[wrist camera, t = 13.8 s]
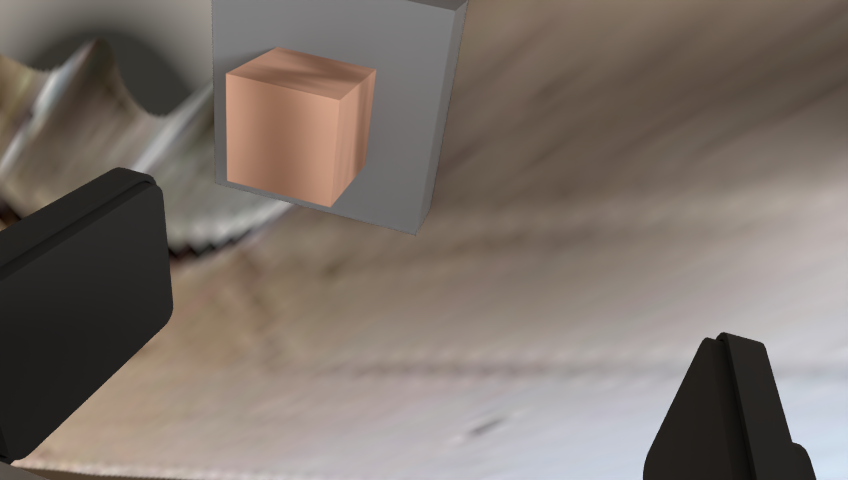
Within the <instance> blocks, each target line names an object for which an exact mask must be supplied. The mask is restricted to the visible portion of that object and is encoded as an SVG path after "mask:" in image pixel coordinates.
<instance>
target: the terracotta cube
mask: <svg viewBox="0 0 848 480" xmlns="http://www.w3.org/2000/svg"><path fill="white" fill-rule="evenodd" d="M375 76H376V69H373V68H368V67H364V66H359V65H355V64H351V63H346V62H342V61H337V60H333V59H328V58H324V57H320V56H315V55H311V54H306V53H302V52H298V51H293V50H289V49H284V48H280V47H276V48H275V49H273V50H271V51H269V52H267V53H265V54H263V55H261V56H259V57H257V58H255V59H253V60H251V61H249V62H247V63H245V64H243V65H242V66H240V67H238V68H236V69H234V70H232V71H230V72H228V73H226V126H227V181H230V182H234V183H238V184H242V185H246V186H249V187H253V188H257V189H261V190H265V191H269V192H273V193H277V194H280V195H284V196H288V197H292V198H296V199H300V200H304V201H308V202H312V203H315V204H319V205H323V206H327V207H331V206H332V205H333V204H334V202H335V201H336V200H337V199H338V198H339V196H340V195H341V194H342V193H343V191H344V190H345V189H346V188H347V187H348V185H349V184H350V183H351V182H352V180H353V179H354V178H355V177H356V176H357V174H358V173H359V172H360V171H361V169H362V168H363V167H364V166H365V163H366V154H367V145H368V137H369V128H370V119H371V111H372V102H373V93H374V84H375Z"/></svg>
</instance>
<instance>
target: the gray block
mask: <svg viewBox="0 0 848 480" xmlns="http://www.w3.org/2000/svg"><path fill="white" fill-rule="evenodd" d="M467 4H468V0H212V35H213V36H212V37H213V86H214V135H215V183H216V184H220V185H224V186H228V187H232V188H235V189H239V190H243V191H247V192H251V193H255V194H259V195H262V196H266V197H270V198H274V199H278V200H282V201H285V202H289V203H293V204H297V205H301V206H305V207H308V208H312V209H316V210H320V211H324V212H328V213H332V214H335V215H339V216H343V217H347V218H351V219H355V220H358V221H362V222H366V223H370V224H374V225H378V226H381V227H385V228H389V229H393V230H397V231H401V232H405V233H408V234H412V235H417V233H418V231H419V229H420V227H421V225H422V223H423V221H424V219H425V217H426V216H427V214H428V212H429V210H430V207H431V201H432V196H433V190H434V185H435V179H436V174H437V168H438V163H439V157H440V152H441V147H442V141H443V136H444V130H445V125H446V119H447V114H448V108H449V103H450V97H451V92H452V86H453V81H454V75H455V70H456V65H457V59H458V54H459V48H460V43H461V37H462V32H463V26H464V21H465V15H466V10H467ZM276 47H280V48H284V49H289V50H293V51H298V52H302V53H306V54H311V55H315V56H320V57H324V58H328V59H333V60H337V61H342V62H346V63H351V64H355V65H359V66H364V67H368V68H373V69H376V76H375V84H374V93H373V102H372V111H371V119H370V128H369V137H368V145H367V154H366V163H365V166H364V167H363V168H362V169H361V171H360V172H359V173H358V174H357V176H356V177H355V178H354V179H353V180H352V182H351V183H350V184H349V185H348V187H347V188H346V189H345V190H344V191H343V193H342V194H341V195H340V196H339V198H338V199H337V200H336V201H335V202H334V204H333V205H332V206H331V207H327V206H323V205H319V204H315V203H312V202H308V201H304V200H300V199H296V198H292V197H288V196H284V195H280V194H277V193H273V192H269V191H265V190H261V189H257V188H253V187H249V186H246V185H242V184H238V183H234V182H230V181H227V126H226V73H228V72H230V71H232V70H234V69H236V68H238V67H240V66H242V65H243V64H245V63H247V62H249V61H251V60H253V59H255V58H257V57H259V56H261V55H263V54H265V53H267V52H269V51H271V50H273V49H275V48H276Z"/></svg>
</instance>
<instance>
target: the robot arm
mask: <svg viewBox="0 0 848 480" xmlns="http://www.w3.org/2000/svg"><path fill="white" fill-rule="evenodd" d="M172 311H173V297H172V287H171V276H170V265H169V255H168V244H167V233H166V223H165V212H164V201H163V193H162V190H161V188H160V187H159V186H157V185H156V182H155V180H154V178H153V177H151V176H150V175H147V174H144V173H140V172H136V171H133V170H129V169H126V168H120V167H118V168H115V169H112V170H110V171H109V172H107V173H105V174H103V175H101V176H99V177H98V178H96V179H94V180H92V181H90V182H89V183H87V184H85V185H83V186H81V187H80V188H78V189H76V190H74V191H72V192H71V193H69V194H67V195H65V196H63V197H62V198H60V199H58V200H56V201H54V202H53V203H51V204H49V205H47V206H45V207H44V208H42V209H40V210H38V211H36V212H35V213H33V214H31V215H29V216H27V217H26V218H24V219H22V220H20V221H18V222H17V223H15V224H13V225H11V226H9V227H8V228H6V229H4V230H2V231H0V480H49V479H46V478H43V477H40V476H38V475H35V474H33V473H30V472H27V471H25V470H22V469H19V468H17V467H14V466H11V465H10V464H11V463H12V462H13V461H14V460H21V459H23V458H25V457H26V456H28V455H29V454H30V453H31V452H32V451H33V450H35V449H36V448H37V447H38V446H39V445H40V444H41V443H42V442H43V441H44V440H45V439H46V438H47V437H48V436H49V435H50V434H51V433H52V432H53V431H54V430H56V429H57V428H58V427H59V426H60V425H61V424H62V423H63V422H64V421H65V420H66V419H67V418H68V417H69V416H70V415H71V414H72V413H73V412H74V411H76V410H77V409H78V408H79V407H80V406H81V405H82V404H83V403H84V402H85V401H86V400H87V399H88V398H89V397H90V396H91V395H92V394H93V393H94V392H96V391H97V390H98V389H99V388H100V387H101V386H102V385H103V384H104V383H105V382H106V381H107V380H108V379H109V378H110V377H111V376H112V375H113V374H114V373H116V372H117V371H118V370H119V369H120V368H121V367H122V366H123V365H124V364H125V363H126V362H127V361H128V360H129V359H130V358H131V357H132V356H133V355H134V354H136V353H137V352H138V351H139V350H140V349H141V348H142V347H143V346H144V345H145V344H146V343H147V342H148V341H149V340H150V339H151V338H152V337H153V336H154V335H156V334H157V333H158V332H159V331H160V330H161V329H162V328H163V327H164V326H165V325H166V324H167V322H168V321H169V319H170V317H171V315H172ZM643 480H816V477H815V473H814V470H813V467H812V464H811V460H810V458H809V456H808V453H807V451H806V449H804V448H803V447H802V446H801V445H800V444H797V443H793V442H792V439H791V436H790V432H789V429H788V425H787V422H786V418H785V415H784V411H783V408H782V404H781V401H780V397H779V394H778V390H777V387H776V383H775V380H774V376H773V372H772V369H771V365H770V362H769V358H768V355H767V351H766V348H765V346H764V344H763V343H761V342H758V341H754V340H751V339H747V338H743V337H740V336H736V335H733V334H729V333H725V332H723V333H720V334H719V335H718V336H717V338H716V340H715V339H711V338H708V337H707V338H705V339H704V340H703V341H702V343H701V344H700V346H699V348H698V350H697V352H696V354H695V357H694V359H693V361H692V363H691V365H690V367H689V369H688V371H687V373H686V375H685V377H684V379H683V381H682V383H681V386H680V388H679V390H678V392H677V394H676V396H675V398H674V400H673V402H672V404H671V406H670V408H669V410H668V412H667V415H666V417H665V419H664V421H663V423H662V425H661V427H660V429H659V431H658V433H657V435H656V437H655V439H654V441H653V444H652V446H651V448H650V450H649V452H648V454H647V457H646V460H645V464H644V470H643Z"/></svg>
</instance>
